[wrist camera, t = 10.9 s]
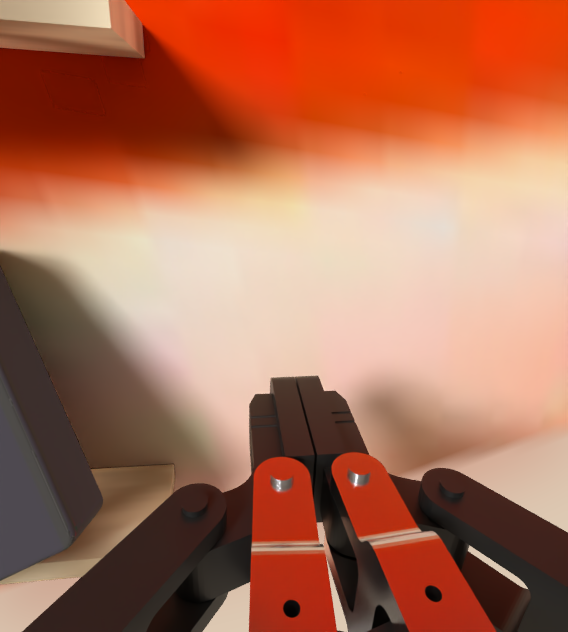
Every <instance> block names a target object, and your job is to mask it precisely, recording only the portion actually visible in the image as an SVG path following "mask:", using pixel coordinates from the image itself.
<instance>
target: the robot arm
mask: <svg viewBox="0 0 568 632" xmlns="http://www.w3.org/2000/svg"><path fill="white" fill-rule="evenodd" d="M249 433H250V457H251V472H252V474H251V476H250V477H249V479H248V480H247V481H246V482H245V483H243V484H242V485H241V486H239V487H237V488H235V489H233V490H230V491H227V492H224V493H222V492H221V491H220V490H219V489H217V488H216V487H214V486H211V485H208V484H191V485H187V486H185V487H182V488H180V489H179V490H177V491H175V492H174V493H173V494H172V495H171V496H170V497H169V498H167V499H166V500H165V501H164V502H163V503H162V504H161V505H160V506H159V507H158V508H157V509H155V510H154V511H153V512H152V513H151V514H150V515H149V516H148V517H147V518H146V519H145V520H143V521H142V522H141V523H140V524H139V525H138V526H137V527H136V528H135V529H134V530H133V531H131V532H130V533H129V534H128V535H127V536H126V537H125V538H124V539H123V540H122V541H121V542H119V543H118V544H117V545H116V546H115V547H114V548H113V549H112V550H111V551H110V552H109V553H107V554H106V555H105V556H104V557H103V558H102V559H101V560H100V561H99V562H98V563H97V564H95V565H94V566H93V567H92V568H91V569H90V570H89V571H88V572H87V573H86V574H85V575H83V576H82V577H81V578H80V579H79V580H78V581H77V582H76V583H75V584H74V585H73V586H72V587H70V588H69V589H68V590H67V591H66V592H65V593H64V594H63V595H62V596H61V597H60V598H58V599H57V600H56V601H55V602H54V603H53V604H52V605H51V606H50V607H49V608H48V609H46V610H45V611H44V612H43V613H42V614H41V615H40V616H39V617H38V618H37V619H36V620H34V621H33V622H32V623H31V624H30V625H29V626H28V627H27V628H26V629H25V630H24V631H23V632H202V631H203V630H204V629H205V627H206V626H207V624H208V623H209V622H210V620H211V619H212V618H213V616H214V615H215V613H216V612H217V611H218V609H219V608H220V607H221V605H222V604H223V602H224V601H225V599H226V597H227V594H228V592H229V591H231V590H233V589H235V588H237V587H240V586H242V585H244V584H246V583H249V582H250V615H249V632H342V631H337V629H336V623H335V615H334V608H333V601H332V596H331V588H330V581H329V574H328V567H327V561H328V564H329V567H330V570H331V573H332V577H333V580H334V583H335V587H336V590H337V593H338V596H339V599H340V603H341V606H342V609H343V612H344V616H345V619H346V623H347V628H348V632H568V533H567V532H566V531H564V530H562V529H560V528H558V527H557V526H555V525H553V524H551V523H550V522H548V521H546V520H544V519H542V518H540V517H539V516H537V515H535V514H534V513H532V512H530V511H528V510H526V509H525V508H523V507H521V506H519V505H518V504H516V503H514V502H512V501H510V500H508V499H507V498H505V497H503V496H501V495H500V494H498V493H496V492H494V491H493V490H491V489H489V488H487V487H485V486H484V485H482V484H480V483H478V482H476V481H475V480H473V479H471V478H469V477H468V476H466V475H464V474H462V473H460V472H458V471H455V470H451V469H446V468H435V469H432V470H429V471H427V472H426V473H425V474H424V476H423V478H422V481H416V480H411V479H406V478H401V477H397V476H394V475H391V474H389V473H387V471H386V469H385V468H384V466H383V465H382V464H381V463H380V462H379V461H378V460H377V459H375V458H374V457H372V456H369V453H368V451H367V449H366V446H365V444H364V442H363V439H362V437H361V435H360V432H359V430H358V428H357V425H356V423H355V422H354V418H353V416H352V413H351V411H350V409H349V406H348V404H347V402H346V400H345V399H344V398H343V397H342V396H341V395H339V394H338V393H337V392H336V391H324V390H323V387H322V385H321V382H320V379H319V377H318V376H302V377H295V378H294V377H278V378H271V381H270V394H255V396H254V398H253V399H252V401H251V403H250V405H249ZM317 522H323V526H324V530H325V538H324V546H323V545H322V544H320V543H319V538H318V530H317ZM469 545H470V546H472V547H473V548H475V549H476V550H478V551H479V552H481V553H482V554H484V555H485V556H487V557H488V558H490V559H491V560H493V561H494V562H496V563H497V564H499V565H500V566H502V567H503V568H505V569H506V570H508V571H509V572H511V573H513V574H514V575H515V576H517V577H518V578H519V579H521V580H522V581H523V582H524V583H525V585H526V586H527V587H528V589H529V590H528V589H525V588H522V587H520V586H519V585H517V584H516V583H514V582H513V581H511V580H510V579H508V578H507V577H505V576H503V575H502V574H501V573H499V572H498V571H496V570H495V569H493V568H492V567H490V566H489V565H487V564H486V563H484V562H483V561H482V560H480V559H479V558H477V557H476V556H474V555H473V554H471V553H470V552H468V548H469ZM326 557H327V560H326Z"/></svg>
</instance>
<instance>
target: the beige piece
mask: <svg viewBox="0 0 568 632" xmlns="http://www.w3.org/2000/svg"><path fill="white" fill-rule="evenodd" d="M0 48H10V49H24V50H37V51H51V52H65V53H78V54H92V55H105V56H119V57H132V58H145V54H144V41H143V27H142V23H141V21H140V20H139V19H138V17H137V16H136V15H135V14H134V12H133V11H132V10H131V8H130V7H129V6H128V4H127V3H126V2H125V0H0ZM91 471H92V474H93V476H94V478H95V480H96V483H97V485H98V487H99V489H100V492H101V494H102V497H103V505H102V507H101V509H100V510H99V512H98V513H97V514H96V516H95V517H94V518H93V519H92V521H91V522H90V523H89V524H88V526H87V527H86V528H85V529H84V531H83V532H82V533H81V535H80V536H79V537H78V538H77V539H76V541H75V542H74V543H73V544H72V545H71V546H70V547H69V548H67V549H66V550H64V551H62V552H60V553H58V554H56V555H54V556H52V557H49V558H47V559H45V560H43V561H41V562H39V563H37V564H35V565H33V566H31V567H29V568H26V569H24V570H22V571H20V572H18V573H16V574H14V575H12V576H10V577H8V578H5V579H3V580H1V581H0V585H1V584H12V583H22V582H33V581H43V580H54V579H65V578H75V577H82V576H83V575H85V574H86V573H87V572H88V571H89V570H90V569H91V568H92V567H93V566H94V565H95V564H97V563H98V562H99V561H100V560H101V559H102V558H103V557H104V556H105V555H106V554H107V553H109V552H110V551H111V550H112V549H113V548H114V547H115V546H116V545H117V544H118V543H119V542H121V541H122V540H123V539H124V538H125V537H126V536H127V535H128V534H129V533H130V532H131V531H133V530H134V529H135V528H136V527H137V526H138V525H139V524H140V523H141V522H142V521H143V520H145V519H146V518H147V517H148V516H149V515H150V514H151V513H152V512H153V511H154V510H155V509H157V508H158V507H159V506H160V505H161V504H162V503H163V502H164V501H165V500H166V499H167V498H169V497H170V496H171V495H172V494H173V490H174V483H175V473H174V464H170V465H153V466H136V467H119V468H102V469H91Z"/></svg>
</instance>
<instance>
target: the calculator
mask: <svg viewBox="0 0 568 632" xmlns="http://www.w3.org/2000/svg"><path fill="white" fill-rule="evenodd" d="M102 505H103V497H102V494H101V492H100V489H99V487H98V485H97V483H96V480H95V478H94V476H93V474H92V471H91V469H90V467H89V465H88V462H87V460H86V458H85V456H84V453H83V451H82V449H81V447H80V444H79V442H78V440H77V438H76V435H75V433H74V431H73V429H72V426H71V424H70V422H69V420H68V417H67V415H66V413H65V411H64V408H63V406H62V404H61V402H60V399H59V397H58V395H57V393H56V390H55V388H54V386H53V384H52V381H51V379H50V377H49V375H48V372H47V370H46V368H45V366H44V363H43V361H42V359H41V357H40V354H39V352H38V350H37V348H36V345H35V343H34V341H33V339H32V336H31V334H30V332H29V330H28V327H27V325H26V323H25V321H24V318H23V316H22V314H21V312H20V309H19V307H18V305H17V303H16V300H15V298H14V296H13V294H12V291H11V289H10V287H9V285H8V282H7V280H6V278H5V276H4V273H3V271H2V269H1V267H0V581H1V580H3V579H5V578H8V577H10V576H12V575H14V574H16V573H18V572H20V571H22V570H24V569H26V568H29V567H31V566H33V565H35V564H37V563H39V562H41V561H43V560H45V559H47V558H49V557H52V556H54V555H56V554H58V553H60V552H62V551H64V550H66V549H67V548H69V547H70V546H71V545H72V544H73V543H74V542H75V541H76V539H77V538H78V537H79V536H80V535H81V533H82V532H83V531H84V529H85V528H86V527H87V526H88V524H89V523H90V522H91V521H92V519H93V518H94V517H95V516H96V514H97V513H98V512H99V510H100V509H101V507H102Z"/></svg>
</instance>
